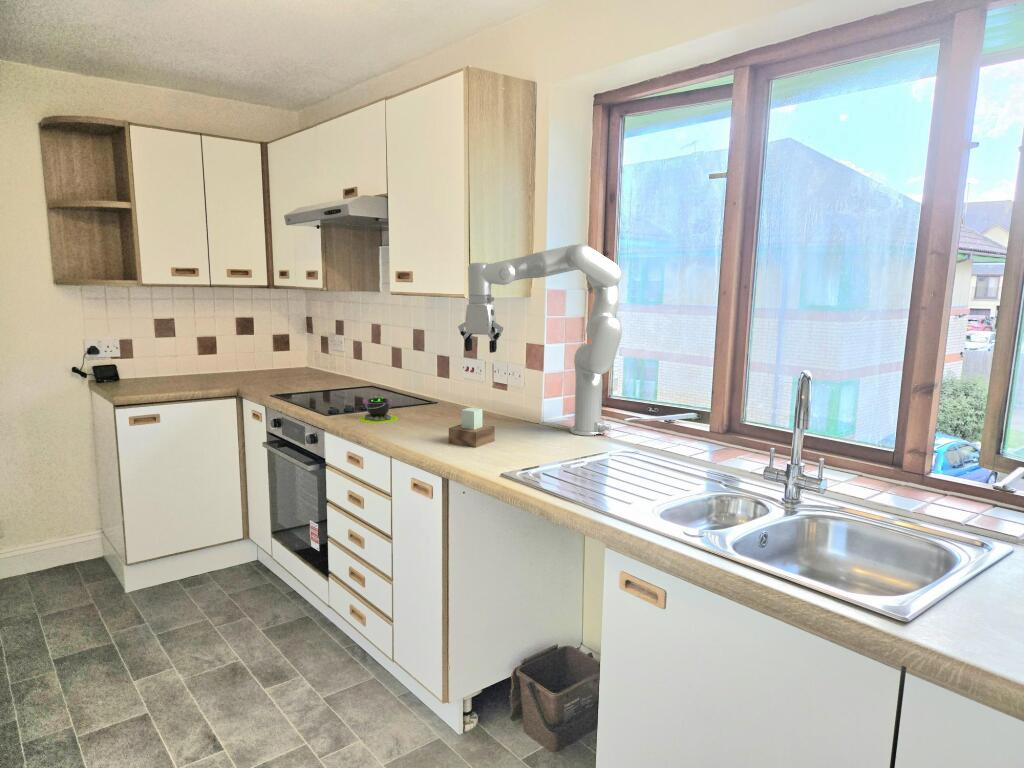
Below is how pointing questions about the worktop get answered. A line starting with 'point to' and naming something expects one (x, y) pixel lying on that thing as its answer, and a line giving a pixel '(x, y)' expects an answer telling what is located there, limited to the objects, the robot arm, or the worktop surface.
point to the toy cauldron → (378, 411)
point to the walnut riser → (471, 435)
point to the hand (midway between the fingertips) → (480, 351)
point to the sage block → (472, 418)
